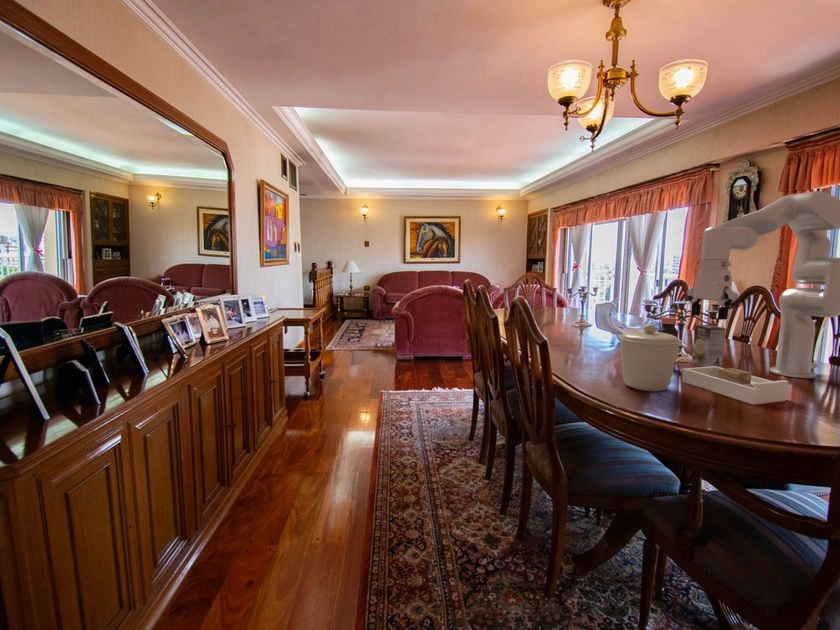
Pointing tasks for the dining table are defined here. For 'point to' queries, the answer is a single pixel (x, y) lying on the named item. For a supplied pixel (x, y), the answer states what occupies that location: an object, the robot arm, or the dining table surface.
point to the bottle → (669, 327)
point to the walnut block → (735, 375)
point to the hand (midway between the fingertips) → (708, 317)
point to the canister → (648, 358)
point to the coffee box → (708, 345)
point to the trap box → (738, 386)
